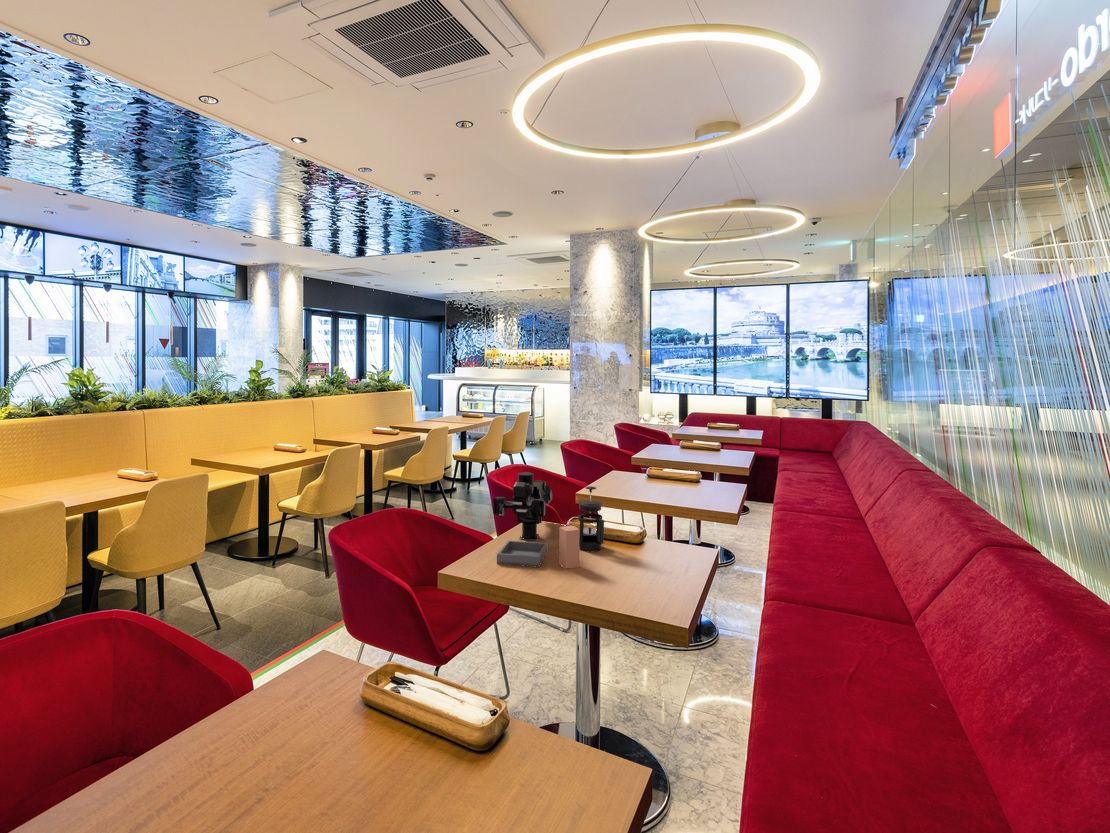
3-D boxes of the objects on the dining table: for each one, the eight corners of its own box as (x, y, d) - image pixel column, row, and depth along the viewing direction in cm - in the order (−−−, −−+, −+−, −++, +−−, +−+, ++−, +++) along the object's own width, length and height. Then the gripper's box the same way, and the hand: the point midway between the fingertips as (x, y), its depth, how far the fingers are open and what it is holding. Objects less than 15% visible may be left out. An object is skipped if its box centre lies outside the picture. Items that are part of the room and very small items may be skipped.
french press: (570, 546, 211) (571, 486, 208) (588, 541, 217) (589, 482, 215) (592, 554, 202) (593, 491, 200) (610, 549, 208) (612, 488, 206)
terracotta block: (559, 564, 192) (559, 527, 191) (572, 562, 195) (572, 525, 193) (565, 569, 188) (566, 531, 187) (578, 566, 190) (579, 529, 189)
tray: (508, 549, 206) (508, 540, 206) (547, 552, 204) (547, 543, 203) (496, 563, 192) (496, 553, 192) (538, 567, 189) (538, 557, 189)
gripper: (499, 479, 210) (487, 489, 195) (548, 482, 207) (539, 491, 192) (499, 508, 212) (487, 520, 196) (548, 511, 208) (539, 523, 193)
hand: (513, 513), depth 194 cm, fingers open, 9 cm apart
